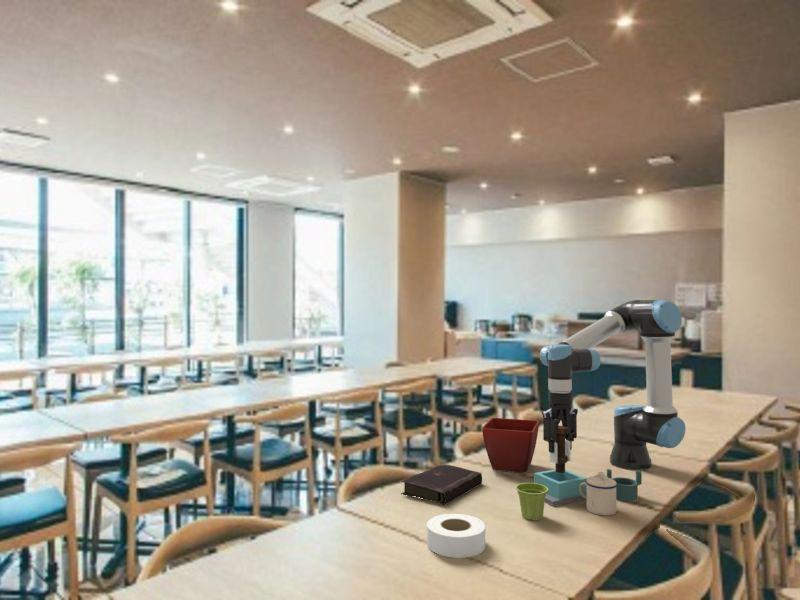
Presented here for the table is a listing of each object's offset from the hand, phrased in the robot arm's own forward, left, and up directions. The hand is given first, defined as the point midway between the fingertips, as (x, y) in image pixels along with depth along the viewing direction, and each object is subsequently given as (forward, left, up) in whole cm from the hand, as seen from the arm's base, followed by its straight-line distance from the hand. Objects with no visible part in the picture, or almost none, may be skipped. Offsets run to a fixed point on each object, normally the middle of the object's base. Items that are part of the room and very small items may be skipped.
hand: (560, 460), depth 183 cm
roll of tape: (+50, +16, -12) cm, 54 cm away
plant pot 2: (+20, +10, -12) cm, 25 cm away
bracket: (-18, +10, -12) cm, 24 cm away
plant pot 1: (-4, -32, -12) cm, 34 cm away
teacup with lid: (-2, +14, -12) cm, 19 cm away
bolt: (0, 0, -4) cm, 4 cm away
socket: (0, 0, -11) cm, 11 cm away
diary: (+32, -23, -12) cm, 41 cm away
